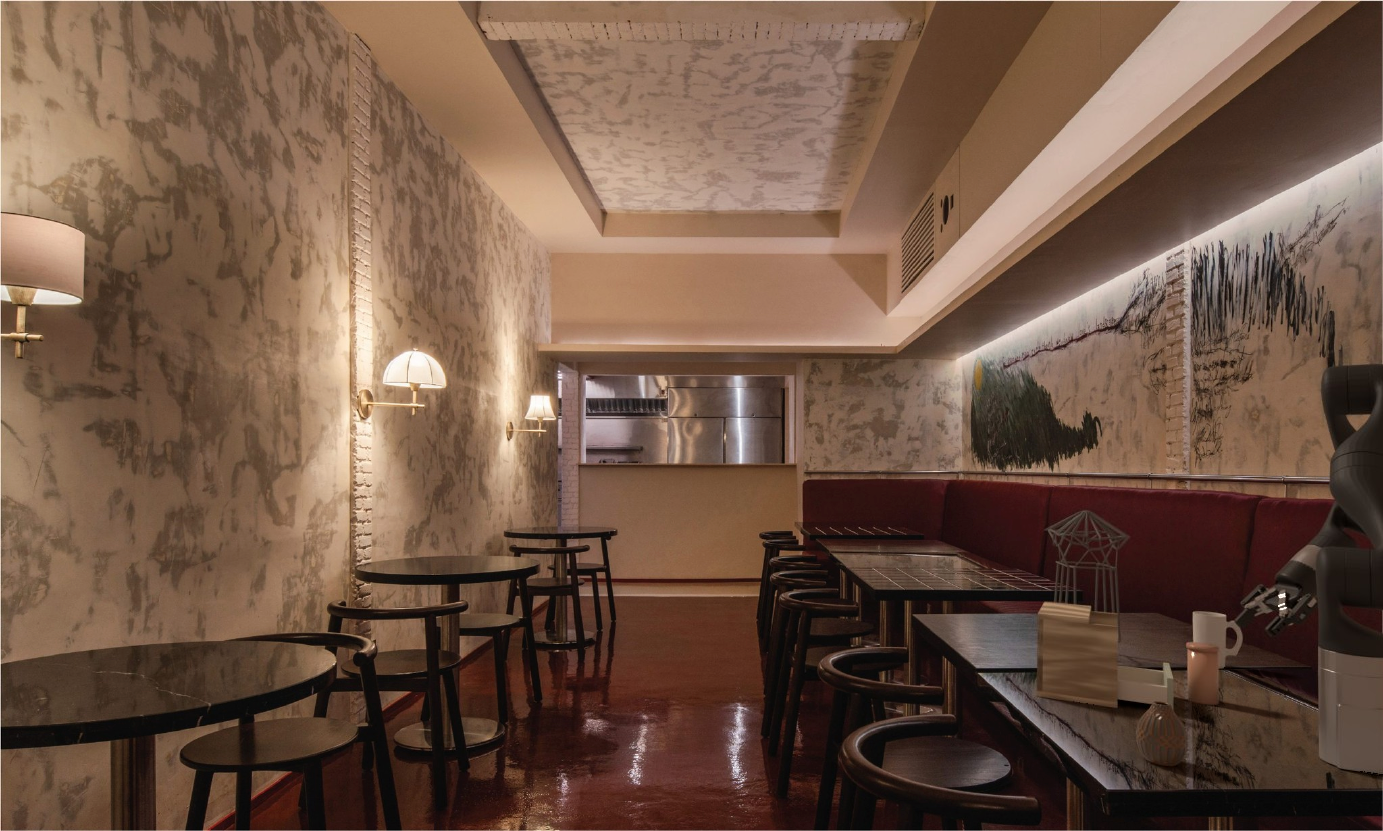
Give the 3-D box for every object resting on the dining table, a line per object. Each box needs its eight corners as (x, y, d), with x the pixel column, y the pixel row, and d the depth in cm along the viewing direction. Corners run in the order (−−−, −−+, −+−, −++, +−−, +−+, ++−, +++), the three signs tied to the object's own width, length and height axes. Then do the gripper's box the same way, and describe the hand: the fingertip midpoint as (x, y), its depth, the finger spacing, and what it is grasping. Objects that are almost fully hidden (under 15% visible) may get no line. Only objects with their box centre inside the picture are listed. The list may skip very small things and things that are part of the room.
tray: (1173, 712, 155) (1173, 678, 155) (1092, 700, 161) (1092, 668, 161) (1168, 693, 168) (1168, 663, 169) (1094, 683, 174) (1094, 654, 175)
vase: (1170, 754, 132) (1170, 697, 132) (1198, 770, 125) (1198, 710, 125) (1126, 753, 132) (1127, 696, 132) (1152, 769, 125) (1152, 709, 125)
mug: (1195, 666, 196) (1195, 614, 197) (1190, 660, 202) (1190, 610, 203) (1246, 672, 192) (1245, 619, 193) (1239, 666, 198) (1239, 614, 199)
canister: (1221, 706, 161) (1221, 649, 162) (1187, 702, 164) (1187, 645, 165) (1218, 700, 166) (1218, 644, 167) (1185, 695, 169) (1185, 641, 170)
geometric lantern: (1105, 650, 211) (1106, 510, 213) (1132, 665, 195) (1133, 513, 197) (1040, 647, 212) (1042, 507, 214) (1061, 661, 197) (1063, 510, 199)
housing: (1117, 708, 158) (1117, 621, 159) (1036, 696, 164) (1037, 613, 165) (1117, 687, 174) (1117, 608, 175) (1043, 677, 180) (1044, 601, 181)
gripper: (1269, 555, 175) (1216, 609, 174) (1324, 563, 161) (1266, 622, 159) (1293, 581, 175) (1240, 636, 174) (1351, 592, 161) (1293, 651, 159)
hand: (1253, 629), depth 166 cm, fingers open, 8 cm apart
